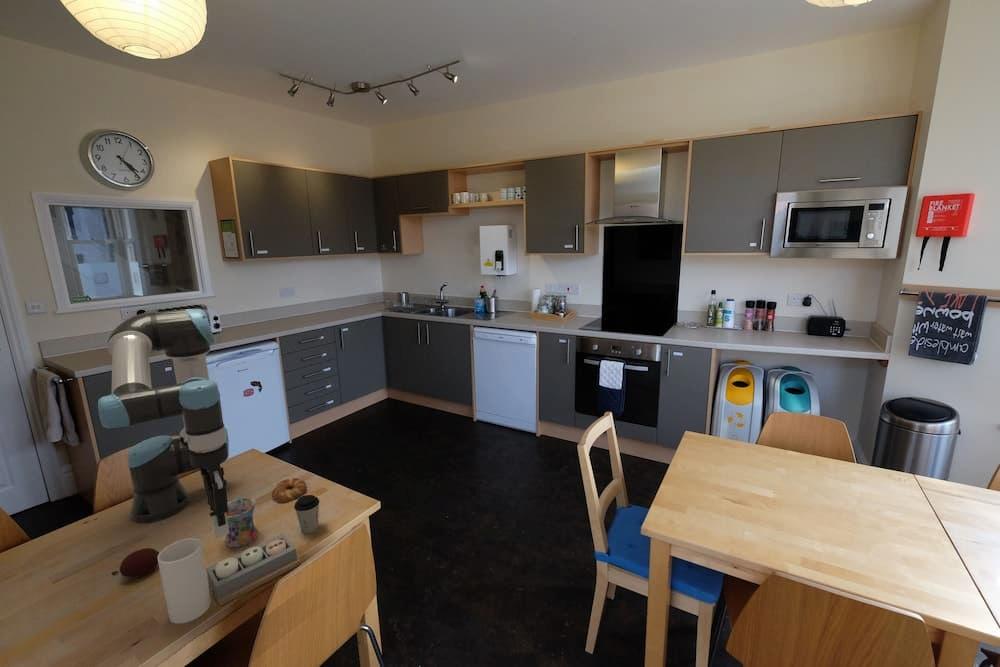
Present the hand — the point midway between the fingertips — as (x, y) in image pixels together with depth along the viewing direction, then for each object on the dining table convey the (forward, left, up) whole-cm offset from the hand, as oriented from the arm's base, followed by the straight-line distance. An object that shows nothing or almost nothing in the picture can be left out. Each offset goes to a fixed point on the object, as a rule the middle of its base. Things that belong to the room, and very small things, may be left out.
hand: (222, 534), depth 109 cm
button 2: (0, +6, -12) cm, 13 cm away
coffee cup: (-7, +23, -14) cm, 28 cm away
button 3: (0, +11, -13) cm, 17 cm away
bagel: (-32, +27, -15) cm, 44 cm away
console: (0, +6, -14) cm, 15 cm away
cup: (+2, -9, -14) cm, 17 cm away
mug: (-18, +8, -14) cm, 25 cm away
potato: (-22, -15, -15) cm, 30 cm away
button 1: (0, 0, -12) cm, 12 cm away
